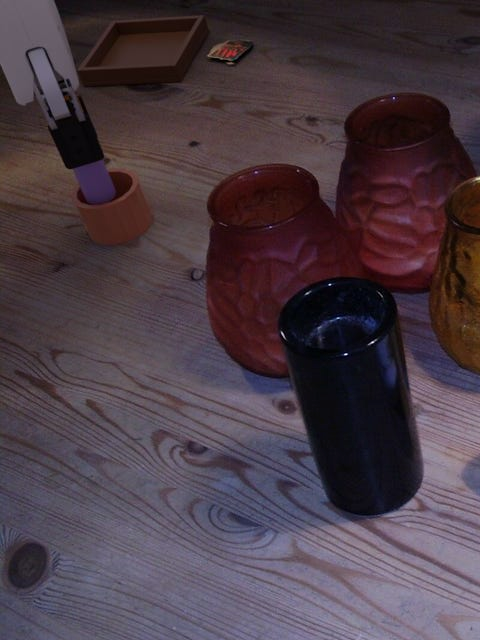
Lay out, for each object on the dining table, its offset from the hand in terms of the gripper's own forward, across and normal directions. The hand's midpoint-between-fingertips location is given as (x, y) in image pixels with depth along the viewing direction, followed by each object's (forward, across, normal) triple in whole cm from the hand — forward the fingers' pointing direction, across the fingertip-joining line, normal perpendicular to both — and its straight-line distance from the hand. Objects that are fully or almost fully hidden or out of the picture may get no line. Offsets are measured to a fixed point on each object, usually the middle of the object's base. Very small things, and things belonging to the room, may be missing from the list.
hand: (81, 151), depth 84 cm
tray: (+8, -31, +9) cm, 33 cm away
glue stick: (+5, 0, 0) cm, 5 cm away
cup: (+8, 0, +1) cm, 8 cm away
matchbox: (+8, -26, +18) cm, 33 cm away
